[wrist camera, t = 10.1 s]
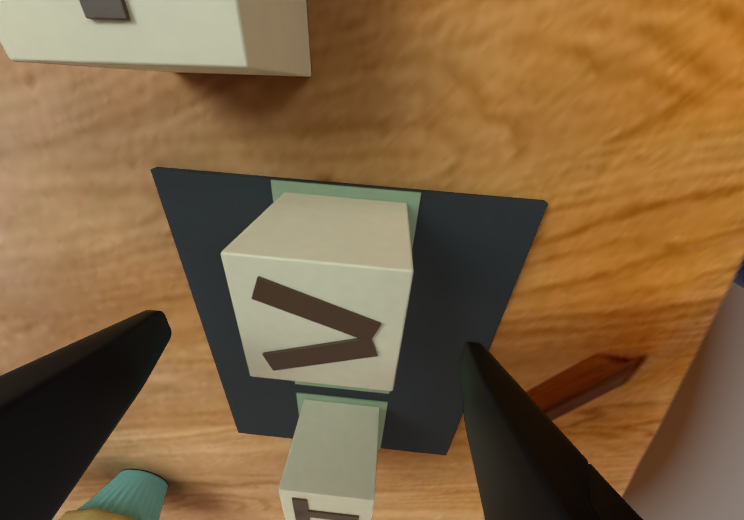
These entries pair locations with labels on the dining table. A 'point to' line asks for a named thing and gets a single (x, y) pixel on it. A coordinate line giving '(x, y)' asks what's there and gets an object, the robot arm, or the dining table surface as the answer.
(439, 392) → the word mat
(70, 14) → the letter t block
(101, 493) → the cupcake
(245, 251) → the letter v block
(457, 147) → the dining table surface
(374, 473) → the alphabet cube
